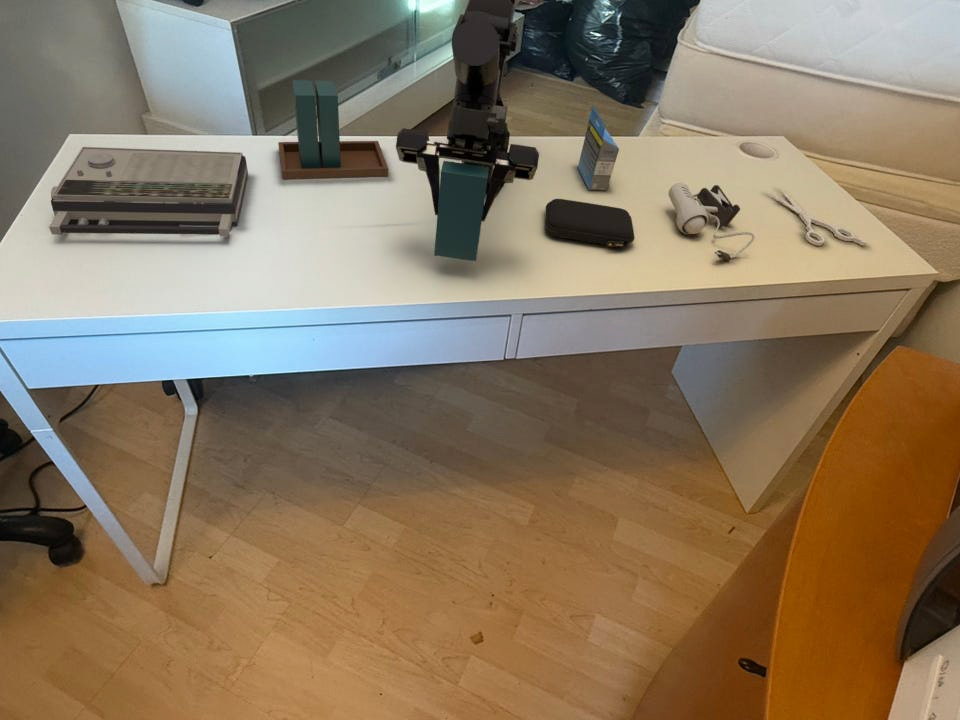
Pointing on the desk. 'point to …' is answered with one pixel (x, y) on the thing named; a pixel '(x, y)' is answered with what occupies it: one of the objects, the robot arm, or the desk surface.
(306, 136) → the teal book
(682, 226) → the clip-on lamp
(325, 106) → the teal book
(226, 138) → the desk surface
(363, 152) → the book tray
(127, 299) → the desk surface
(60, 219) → the radio
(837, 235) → the scissors
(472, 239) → the slim teal book
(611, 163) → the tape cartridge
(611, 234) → the carrying case
